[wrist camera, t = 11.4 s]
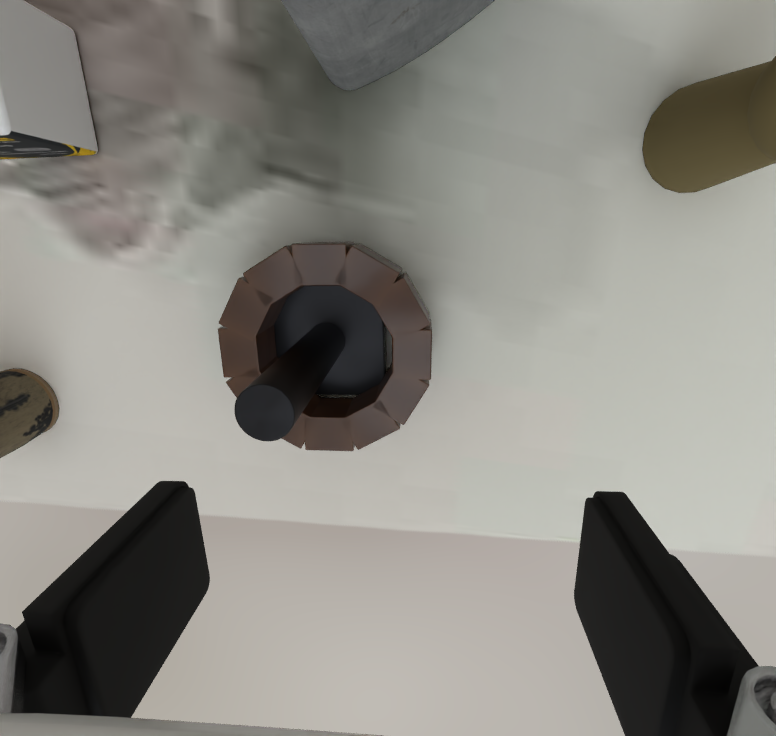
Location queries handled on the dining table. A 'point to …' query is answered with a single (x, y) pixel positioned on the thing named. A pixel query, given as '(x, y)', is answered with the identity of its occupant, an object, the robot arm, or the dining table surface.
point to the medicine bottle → (41, 87)
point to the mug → (24, 408)
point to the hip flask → (375, 33)
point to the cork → (714, 130)
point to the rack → (314, 359)
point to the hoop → (361, 277)
